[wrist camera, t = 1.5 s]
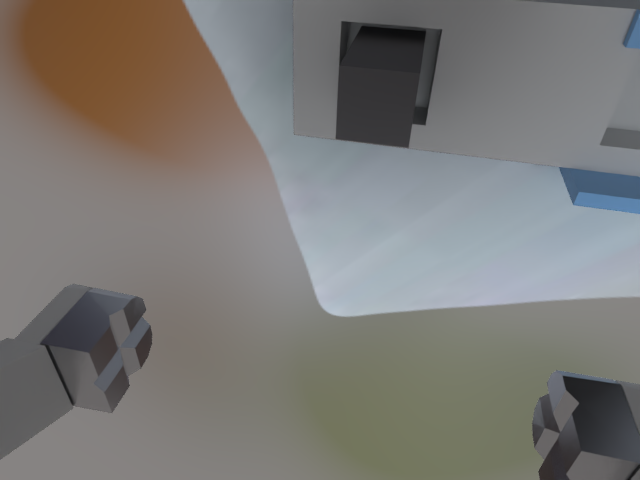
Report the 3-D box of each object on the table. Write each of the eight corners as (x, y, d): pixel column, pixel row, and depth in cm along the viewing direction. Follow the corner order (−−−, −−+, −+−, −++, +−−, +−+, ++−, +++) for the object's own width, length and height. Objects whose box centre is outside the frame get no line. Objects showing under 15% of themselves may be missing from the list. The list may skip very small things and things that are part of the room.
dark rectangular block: (362, 25, 26) (339, 65, 21) (426, 31, 26) (420, 73, 20) (357, 88, 28) (335, 139, 23) (416, 94, 28) (408, 148, 22)
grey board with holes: (309, -28, 26) (278, -7, 21) (851, 10, 22) (957, 46, 18) (306, 123, 32) (282, 166, 27) (743, 174, 28) (802, 235, 23)
